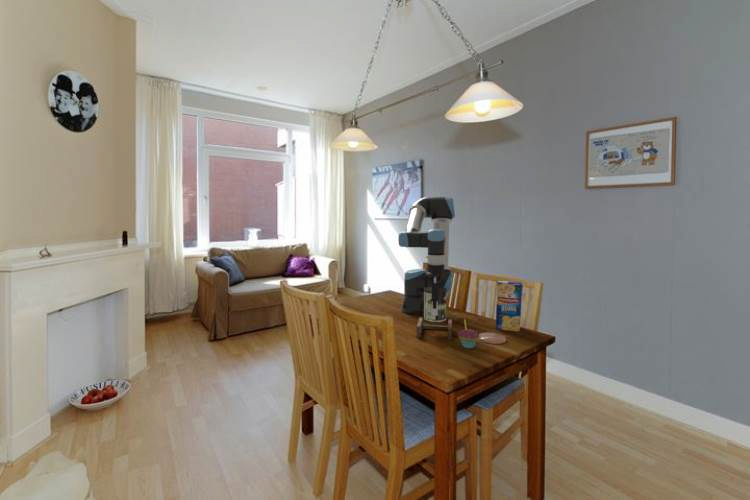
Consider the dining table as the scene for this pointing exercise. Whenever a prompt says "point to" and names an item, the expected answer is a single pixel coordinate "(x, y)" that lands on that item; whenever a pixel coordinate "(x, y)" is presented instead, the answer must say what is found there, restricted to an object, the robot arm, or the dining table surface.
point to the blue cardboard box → (508, 305)
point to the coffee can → (441, 304)
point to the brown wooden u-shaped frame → (434, 327)
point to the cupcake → (468, 337)
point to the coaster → (492, 338)
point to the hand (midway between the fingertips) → (435, 311)
